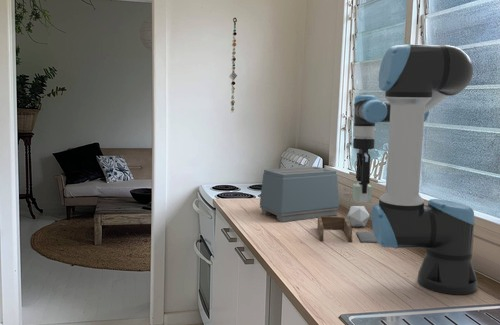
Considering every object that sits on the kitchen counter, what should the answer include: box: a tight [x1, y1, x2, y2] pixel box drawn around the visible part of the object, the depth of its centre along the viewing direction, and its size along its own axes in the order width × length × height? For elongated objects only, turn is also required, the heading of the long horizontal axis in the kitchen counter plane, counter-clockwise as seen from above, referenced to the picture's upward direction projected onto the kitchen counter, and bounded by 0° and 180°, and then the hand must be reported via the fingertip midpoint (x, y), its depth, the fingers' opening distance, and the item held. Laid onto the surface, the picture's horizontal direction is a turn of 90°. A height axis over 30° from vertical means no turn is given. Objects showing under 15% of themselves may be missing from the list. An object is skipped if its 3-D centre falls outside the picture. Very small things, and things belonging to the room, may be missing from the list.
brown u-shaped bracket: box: [317, 216, 353, 243], centre depth 178 cm, size 18×11×5 cm, turn 175°
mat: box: [356, 231, 379, 244], centre depth 174 cm, size 12×12×1 cm
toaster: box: [259, 166, 340, 223], centre depth 211 cm, size 19×35×20 cm, turn 117°
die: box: [346, 205, 371, 228], centre depth 192 cm, size 8×9×10 cm
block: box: [351, 183, 373, 204], centre depth 172 cm, size 6×6×6 cm
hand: (361, 200), depth 172 cm, fingers closed on block, 6 cm apart
